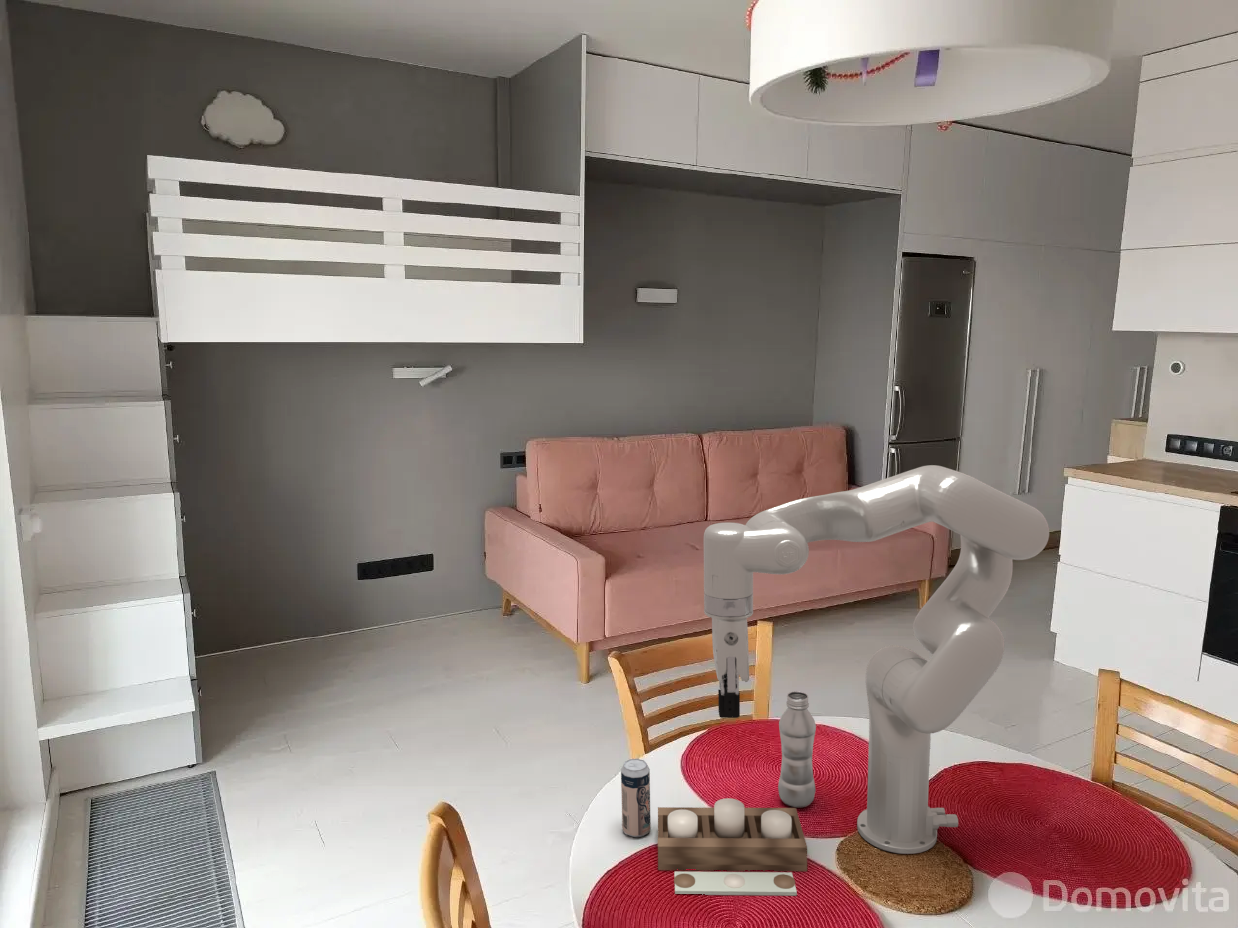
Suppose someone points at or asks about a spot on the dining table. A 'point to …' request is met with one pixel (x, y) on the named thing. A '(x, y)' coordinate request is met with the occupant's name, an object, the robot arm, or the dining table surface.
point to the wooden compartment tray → (731, 845)
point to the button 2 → (776, 825)
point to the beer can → (635, 797)
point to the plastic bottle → (797, 752)
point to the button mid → (729, 818)
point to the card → (735, 883)
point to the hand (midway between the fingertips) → (729, 715)
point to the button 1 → (682, 824)
